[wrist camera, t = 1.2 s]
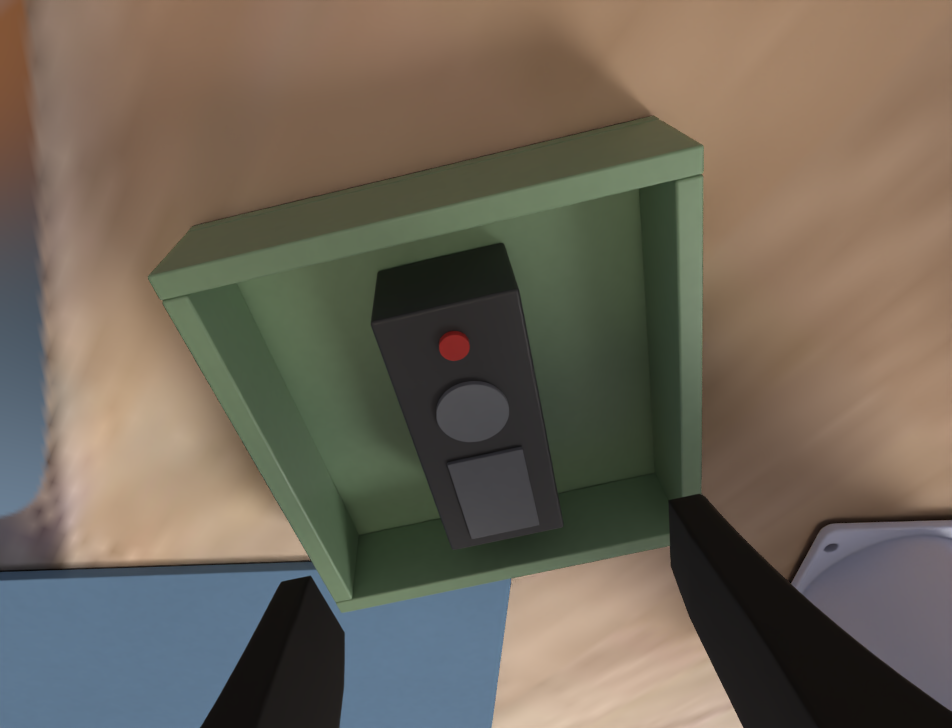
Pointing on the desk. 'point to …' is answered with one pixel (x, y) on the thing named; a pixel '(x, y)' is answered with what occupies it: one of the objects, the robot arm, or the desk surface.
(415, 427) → the remote
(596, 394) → the caddy
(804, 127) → the desk surface
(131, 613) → the mat
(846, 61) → the desk surface
